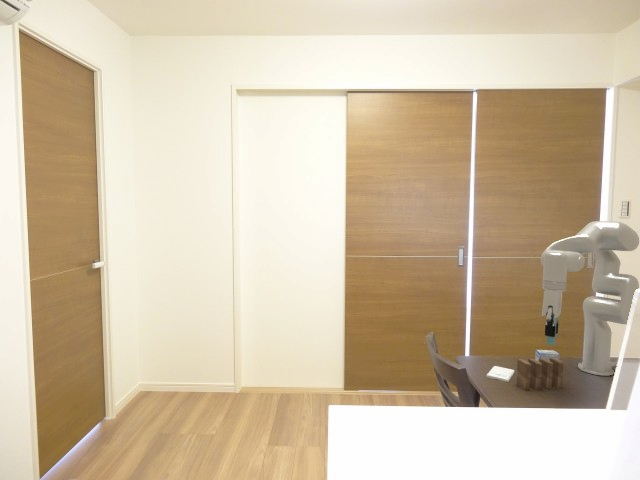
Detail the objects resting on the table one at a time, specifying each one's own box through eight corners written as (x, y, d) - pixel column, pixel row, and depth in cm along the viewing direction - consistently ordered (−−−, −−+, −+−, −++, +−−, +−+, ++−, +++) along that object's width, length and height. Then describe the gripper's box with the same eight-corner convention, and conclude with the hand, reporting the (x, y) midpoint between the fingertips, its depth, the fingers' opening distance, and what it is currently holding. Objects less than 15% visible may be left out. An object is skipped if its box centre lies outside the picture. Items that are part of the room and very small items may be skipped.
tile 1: (553, 382, 159) (554, 357, 158) (562, 388, 154) (563, 362, 153) (548, 382, 159) (549, 358, 158) (557, 388, 154) (558, 362, 153)
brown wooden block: (531, 383, 158) (533, 358, 157) (540, 389, 153) (541, 363, 152) (527, 383, 157) (528, 358, 157) (535, 389, 152) (536, 363, 152)
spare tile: (546, 344, 148) (548, 317, 147) (549, 341, 152) (550, 314, 151) (552, 345, 147) (554, 318, 146) (555, 342, 151) (557, 315, 150)
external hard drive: (514, 373, 169) (507, 383, 159) (493, 369, 174) (486, 378, 164) (514, 370, 169) (508, 379, 159) (494, 365, 173) (486, 374, 164)
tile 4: (521, 384, 157) (522, 359, 156) (529, 389, 152) (530, 363, 151) (516, 384, 157) (517, 359, 156) (524, 390, 152) (525, 364, 151)
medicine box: (553, 370, 172) (554, 350, 171) (558, 374, 167) (559, 353, 167) (534, 369, 172) (535, 349, 172) (538, 373, 168) (539, 353, 167)
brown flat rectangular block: (542, 383, 158) (543, 358, 158) (551, 388, 153) (552, 362, 153) (537, 383, 158) (539, 358, 157) (546, 388, 153) (547, 363, 152)
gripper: (547, 281, 157) (544, 328, 158) (537, 287, 144) (534, 337, 145) (569, 284, 152) (566, 331, 153) (562, 290, 139) (558, 342, 140)
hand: (551, 334), depth 149 cm, fingers closed on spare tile, 4 cm apart
